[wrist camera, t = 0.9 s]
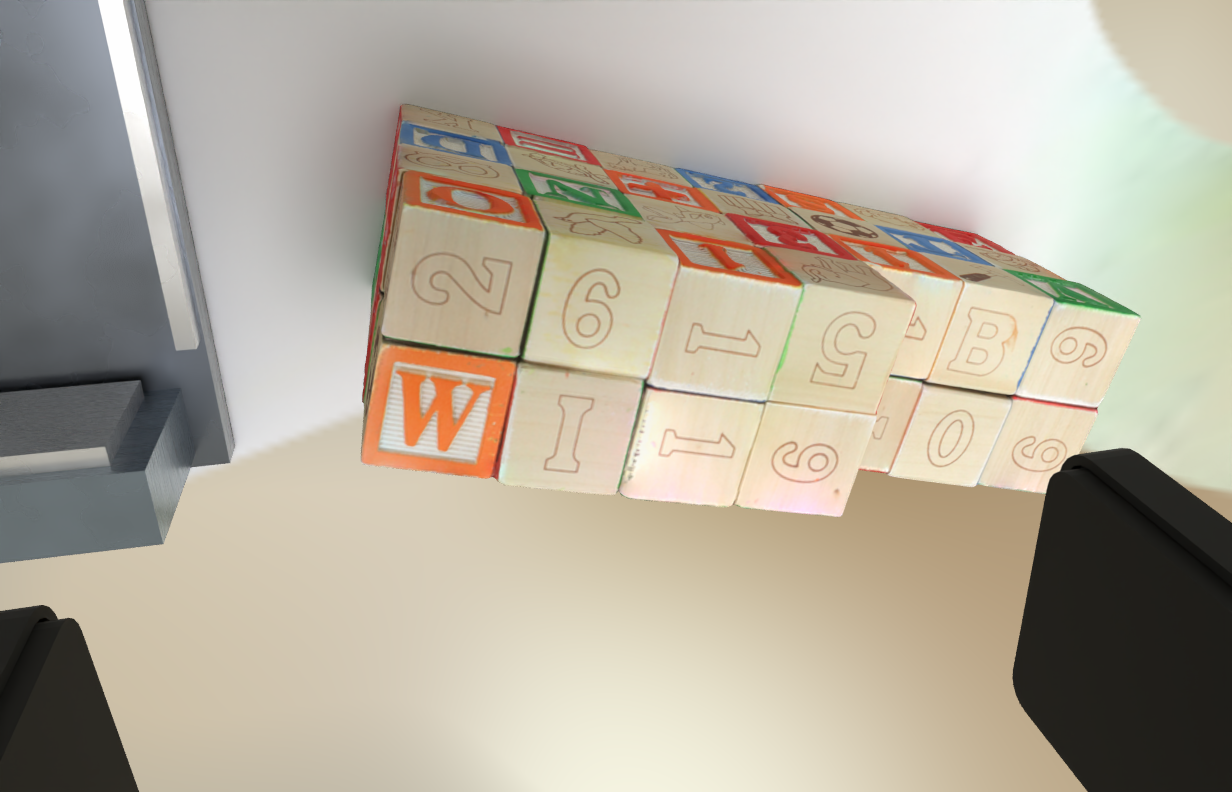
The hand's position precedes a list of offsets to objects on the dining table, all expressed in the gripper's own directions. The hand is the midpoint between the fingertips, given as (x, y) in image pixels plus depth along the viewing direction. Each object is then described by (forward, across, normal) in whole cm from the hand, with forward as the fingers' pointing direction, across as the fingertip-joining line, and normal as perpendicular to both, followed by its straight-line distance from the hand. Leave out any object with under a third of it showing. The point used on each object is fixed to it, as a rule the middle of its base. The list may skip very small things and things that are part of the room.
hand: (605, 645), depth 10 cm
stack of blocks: (+25, -8, +5) cm, 27 cm away
